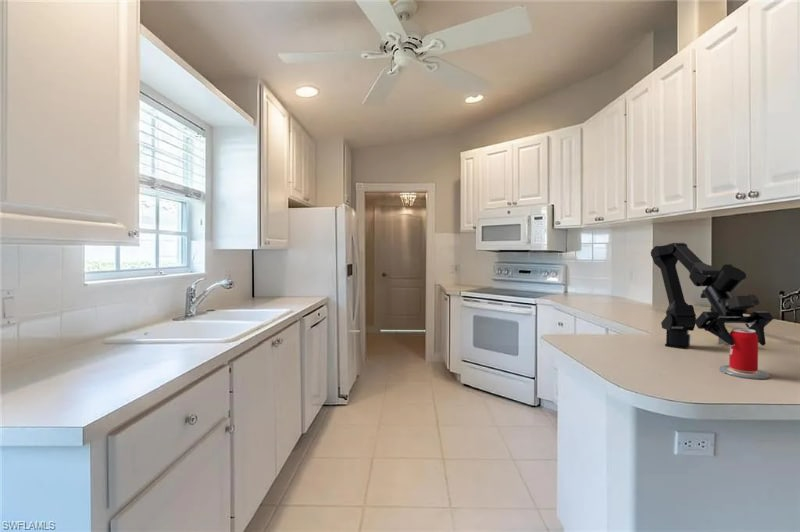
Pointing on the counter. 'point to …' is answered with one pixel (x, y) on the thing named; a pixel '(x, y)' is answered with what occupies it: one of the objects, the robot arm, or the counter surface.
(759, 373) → the slate coaster
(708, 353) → the counter surface
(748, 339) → the beverage can
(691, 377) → the counter surface
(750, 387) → the counter surface
